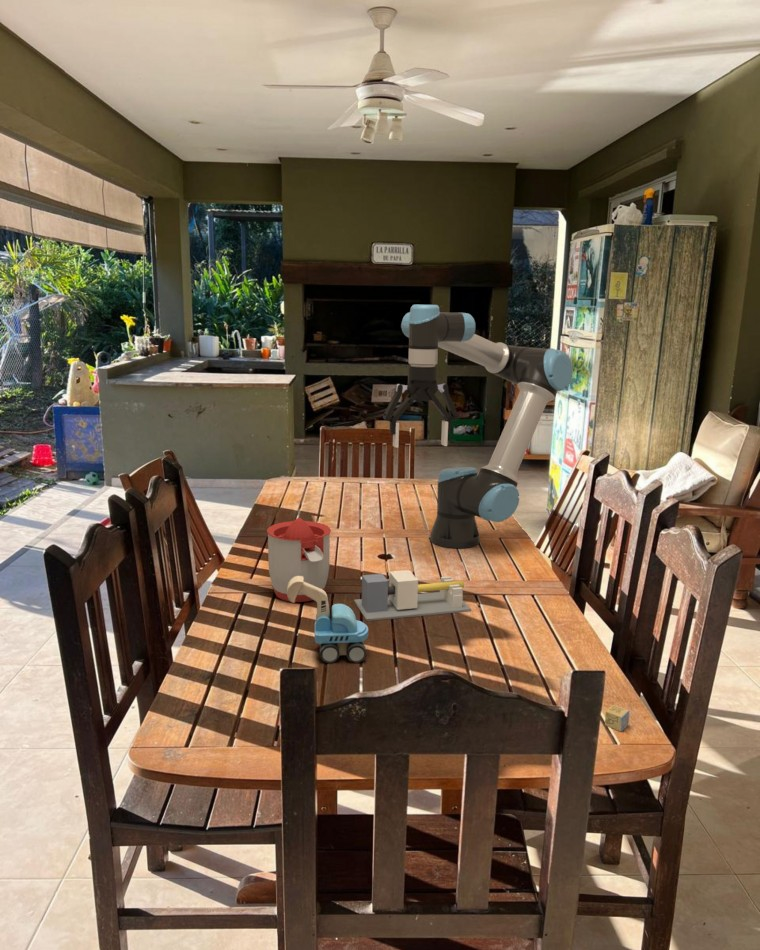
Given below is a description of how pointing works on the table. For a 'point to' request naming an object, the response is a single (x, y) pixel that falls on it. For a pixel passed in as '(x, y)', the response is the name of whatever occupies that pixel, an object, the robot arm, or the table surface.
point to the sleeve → (403, 589)
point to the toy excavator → (332, 624)
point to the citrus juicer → (298, 555)
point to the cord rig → (442, 602)
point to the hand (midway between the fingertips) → (420, 446)
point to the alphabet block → (617, 718)
